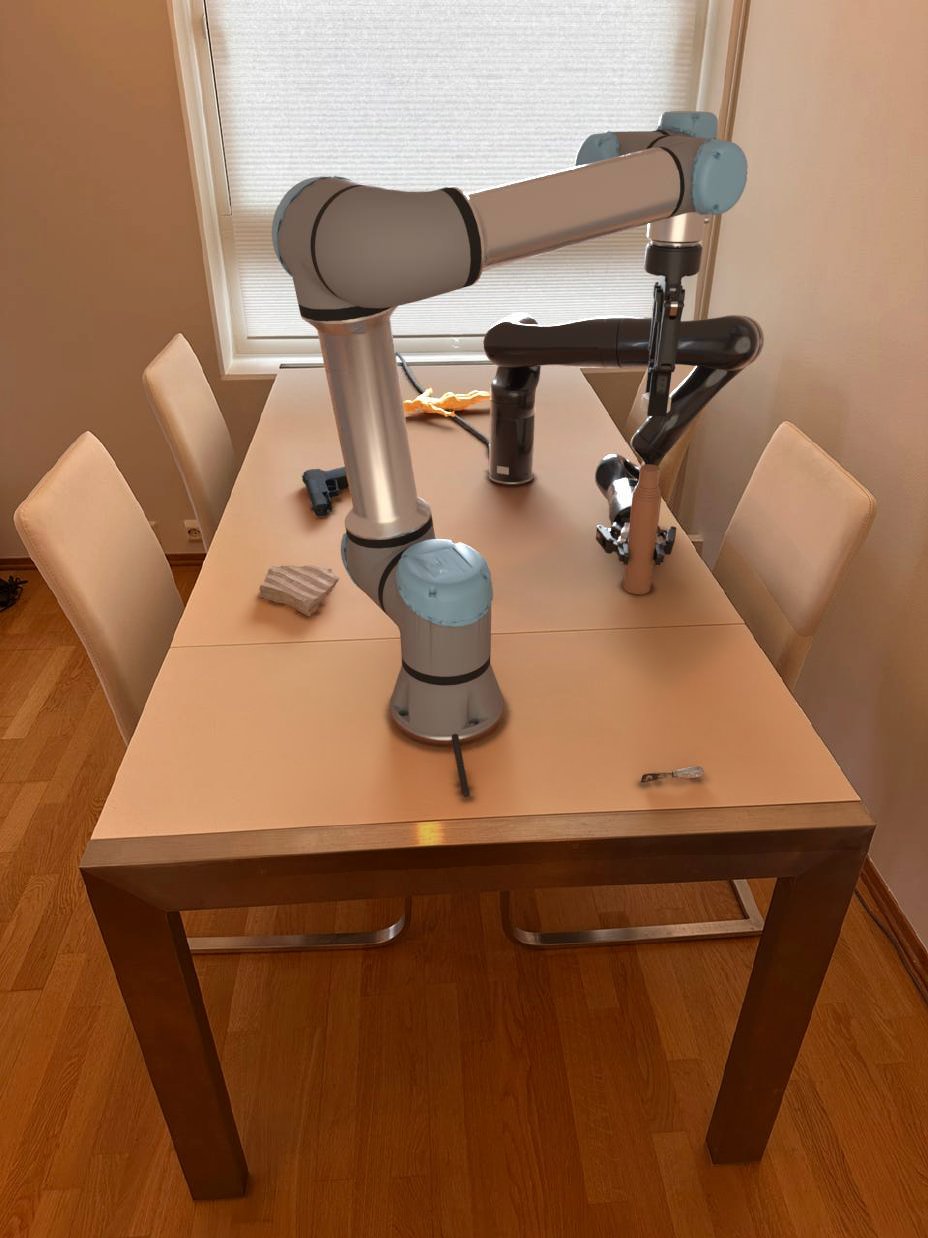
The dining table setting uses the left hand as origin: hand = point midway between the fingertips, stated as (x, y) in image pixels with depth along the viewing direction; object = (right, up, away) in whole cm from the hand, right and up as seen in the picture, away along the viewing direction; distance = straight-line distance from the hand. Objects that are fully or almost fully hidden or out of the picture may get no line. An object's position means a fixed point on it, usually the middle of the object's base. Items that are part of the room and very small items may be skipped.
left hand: (655, 409), depth 133 cm
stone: (-56, -28, +14) cm, 64 cm away
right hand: (0, -22, +11) cm, 24 cm away
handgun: (-55, -7, +48) cm, 73 cm away
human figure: (-32, +22, +93) cm, 100 cm away
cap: (0, +2, -1) cm, 2 cm away
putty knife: (-3, -51, -24) cm, 57 cm away
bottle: (0, -26, +16) cm, 31 cm away
